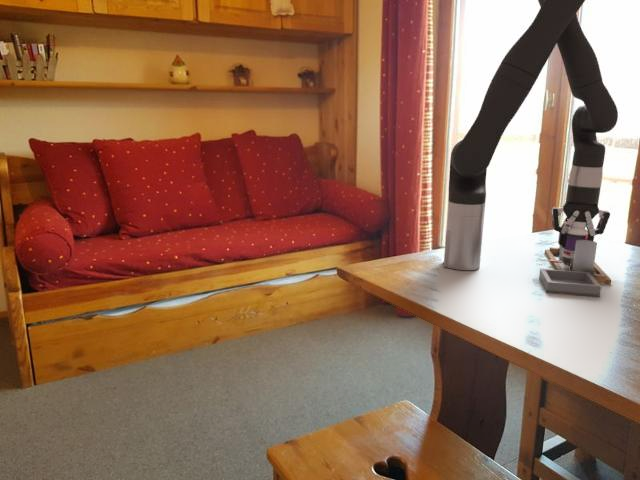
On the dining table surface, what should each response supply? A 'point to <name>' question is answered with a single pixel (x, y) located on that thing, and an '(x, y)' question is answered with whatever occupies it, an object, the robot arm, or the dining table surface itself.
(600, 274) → the brown wooden flat rack
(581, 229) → the pill bottle
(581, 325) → the dining table surface
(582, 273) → the tray
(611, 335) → the dining table surface
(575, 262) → the block
